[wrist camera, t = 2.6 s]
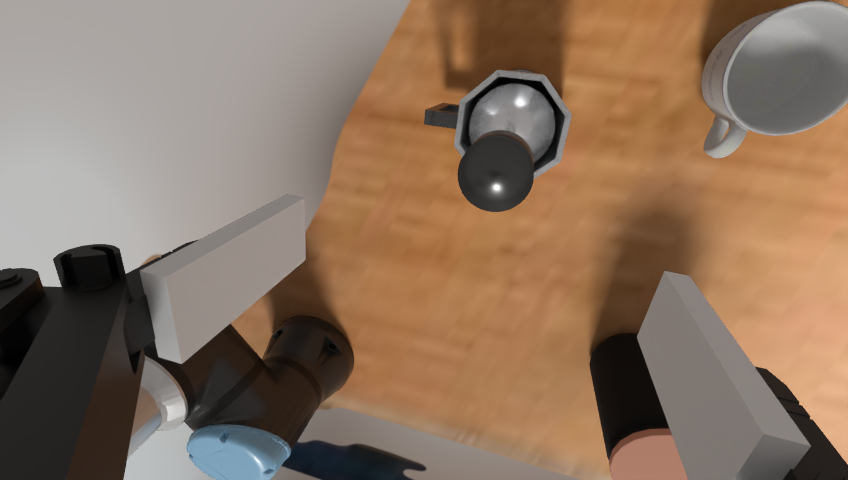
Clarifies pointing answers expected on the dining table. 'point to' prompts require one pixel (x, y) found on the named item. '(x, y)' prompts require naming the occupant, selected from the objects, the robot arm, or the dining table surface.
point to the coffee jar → (632, 414)
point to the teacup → (777, 74)
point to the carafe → (462, 113)
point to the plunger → (505, 146)
